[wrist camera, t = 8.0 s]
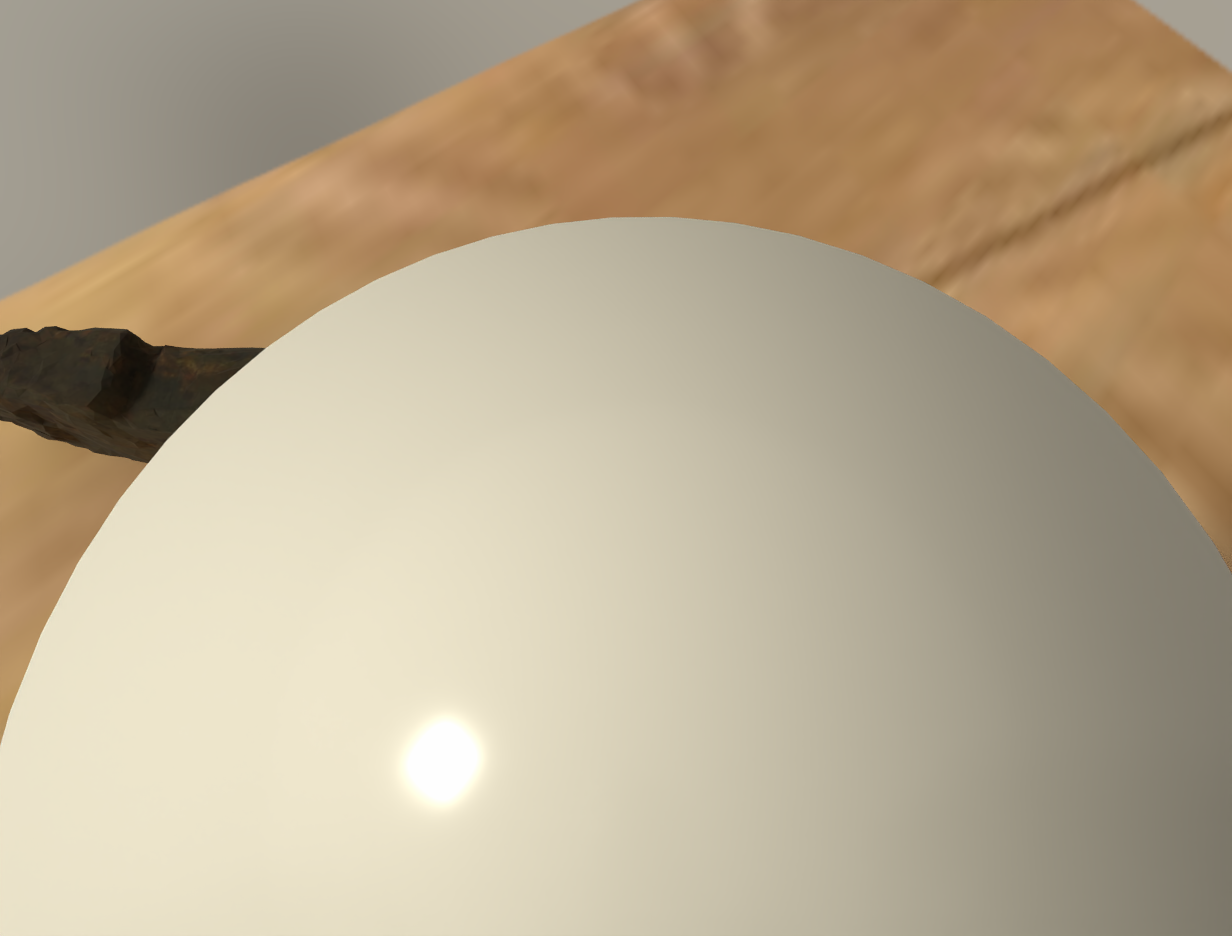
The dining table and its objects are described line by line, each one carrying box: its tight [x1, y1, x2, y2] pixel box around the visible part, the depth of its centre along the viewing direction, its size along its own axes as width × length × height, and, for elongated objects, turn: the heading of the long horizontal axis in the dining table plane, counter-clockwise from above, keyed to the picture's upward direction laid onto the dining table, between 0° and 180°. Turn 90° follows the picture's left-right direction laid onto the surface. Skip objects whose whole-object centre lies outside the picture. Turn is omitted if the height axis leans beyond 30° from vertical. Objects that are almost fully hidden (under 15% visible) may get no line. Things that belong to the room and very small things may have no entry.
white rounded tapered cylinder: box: [0, 217, 1232, 936], centre depth 8 cm, size 5×5×12 cm
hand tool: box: [0, 326, 266, 463], centre depth 19 cm, size 19×4×5 cm, turn 83°
